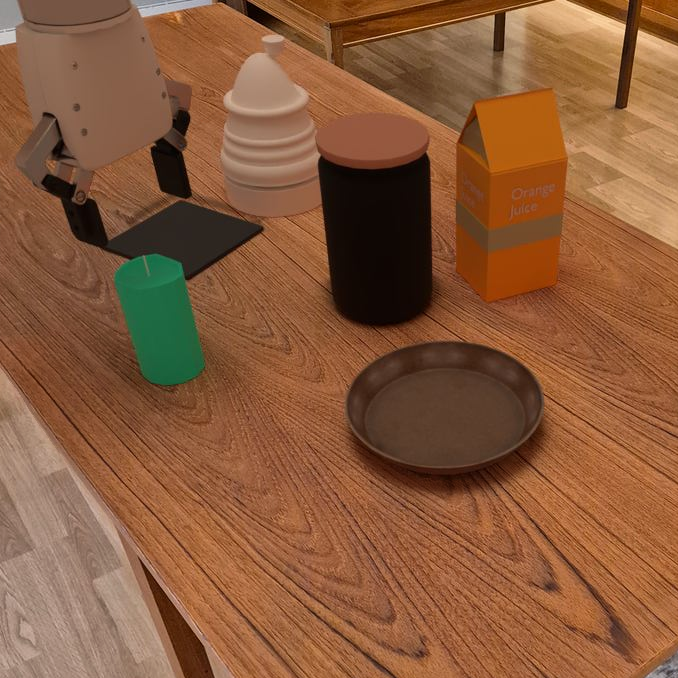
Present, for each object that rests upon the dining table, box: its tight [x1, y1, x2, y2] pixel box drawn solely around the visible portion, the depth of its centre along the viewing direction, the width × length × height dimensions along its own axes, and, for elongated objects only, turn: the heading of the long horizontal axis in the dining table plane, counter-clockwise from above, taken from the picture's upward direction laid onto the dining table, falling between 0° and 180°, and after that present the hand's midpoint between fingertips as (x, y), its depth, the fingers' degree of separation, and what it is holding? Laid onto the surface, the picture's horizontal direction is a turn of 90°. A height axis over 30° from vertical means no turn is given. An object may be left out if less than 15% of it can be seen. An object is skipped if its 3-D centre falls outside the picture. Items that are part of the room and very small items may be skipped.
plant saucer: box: [344, 340, 545, 476], centre depth 80 cm, size 18×18×3 cm
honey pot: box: [219, 34, 322, 218], centre depth 106 cm, size 13×13×18 cm
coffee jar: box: [315, 111, 434, 327], centre depth 89 cm, size 11×11×18 cm
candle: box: [113, 254, 206, 386], centre depth 82 cm, size 6×6×12 cm
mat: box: [101, 199, 265, 281], centre depth 103 cm, size 13×13×1 cm
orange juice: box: [455, 87, 569, 304], centre depth 92 cm, size 8×9×20 cm
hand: (136, 217), depth 75 cm, fingers open, 9 cm apart
